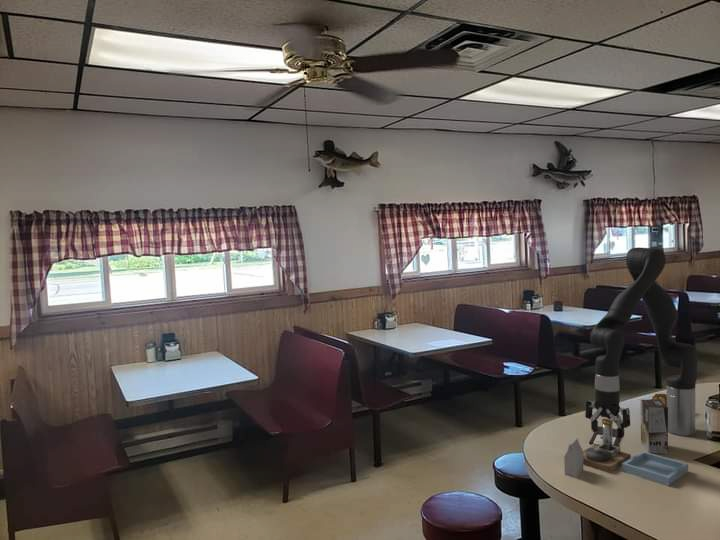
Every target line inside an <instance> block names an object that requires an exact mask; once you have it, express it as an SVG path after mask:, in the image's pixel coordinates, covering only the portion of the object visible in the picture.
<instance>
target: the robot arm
mask: <svg viewBox="0 0 720 540" xmlns="http://www.w3.org/2000/svg"><path fill="white" fill-rule="evenodd" d="M666 260H667V259H666V254H665V252H664V251H663V250H662V249H660V248H656V247H655V248H654V247H632V248H631V249H629V250H628V251H627V253H626V256H625V262H626V267H627V270H628V272H629V274H630V275H631V277H632V280H633V283H631V284H630V285H628V286H627V287H626V288H625V289H623V291H621V292H620V293H618V294H617V296H616V297H615V298H614V300H613V302H612V304H611V305H610V307H609V309H608V311H607V312H606V314H605V315H604V316H603V317H602V318H601V319H600V320H599V321H598V322H597V323H596V325H595V326H594V327H593V328H592V330H591V332H590V334H589V335H590V337H589V338H590V343H591V345H592V346H594V347H595V348H598V349H602V350H606V353H605V354H604V355H597V357H596V359H595V377H594V400H595V401H593V399H590V400H587V401H585V413H584V414H585V415H584V417H585V418H586V419H589V420H590V428H591V431H592V433H594V432H597V431H598V426H599V421H598V419H599V418H600V417H601V418H607V419H611V420H613V423H615V425H616V427H617V428H616V429H617V438H618V439H620V440H621V439H623V438H624V436H625V429H627V428H628V427H630V426H631V415H630V408H628V407H625V408H623V407H620V406H621V405H620V401H621V399H620V398H621V397H620V396H621V395H620V391H621V390H620V388H621V387H620V376H619V373H620V371H619V369H620V368H619V367H620V366H619V365H620V364H619V363H620V360H621V356H622V352H623V349H624V346H625V337H624V335H623V333H622V332H621V331H620V330H619V328H624V327H626V326H627V325H628V324H629V322H630V321H631V318H632V316H633V314H634V313H635V310H636V308H637V307H638V304H639V303H640V302H641V300H642V302H643V304H644V307H645V310H646V314H647V316H648V318H649V320H650V323H651V326H652V328H653V331H654V335H655V338H656V341H657V347H658V349H659V354H660V357H661V359H662V362H663V364H665V366H668V367H672V368H677V369H681V370H680V374H675V375H670V376H668V377H666V394H667V407H668V433H671V434H673V435H676V436H677V435H678V436H682V437H683V436H685V437H686V436H687V437H690V436H694V435H695V434H696V384H697V378H698V365H699V364H698V362H699V354H698V350H697V347H696V346H695V345H693V344H689V343H683V342H676V341H674V339H673V336H672V331H673V328H674V327H675V325H676V323H677V320H678V318H679V314H678V309H677V307H676V304H675V302H674V299H673V297H672V296H671V295H670V294H669V292H667V290H665V289H664V288H663V287H662V286H661V285H660V284H659V283H658V282H656V280H657V279H658V278H659V276H660V275H661V274H662V272H663V270H664V268H665V266H666V264H667V263H666ZM593 408H595V409H596V411H595V412H594V413H593V411H594V410H593Z"/></svg>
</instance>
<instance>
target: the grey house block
mask: <svg viewBox="0 0 720 540" xmlns="http://www.w3.org/2000/svg"><path fill="white" fill-rule="evenodd" d="M583 451H584V450H583V448H582V447H581V444H580V441H579V439H578V438H575V439H574V440H572V442H571V443H570V444H569V445H568V449H567V451H566V452H565V455H564V457H563V459H564V461H563V462H564V475H565V476H568V477H573V478H578V477H579V476H580V475H581V473H582V472H583V471H584V465H583Z"/></svg>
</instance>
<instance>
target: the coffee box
mask: <svg viewBox="0 0 720 540" xmlns="http://www.w3.org/2000/svg"><path fill="white" fill-rule="evenodd" d="M640 444H641V445H642V446H643V447H644V449H645V450H646V452H647V453H651V454H664V455H668V454H669V432H668V407H667V406H666V405H665V404H664V403H662V402H661V401H660V400H657V399H652V398H651V399H640Z"/></svg>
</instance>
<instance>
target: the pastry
mask: <svg viewBox="0 0 720 540" xmlns="http://www.w3.org/2000/svg"><path fill="white" fill-rule="evenodd" d="M651 399H657V400H660V401H661V402H662V403H664V404H665V405H666V406H667V393H655V394H654V395H653V396H652V397H651Z"/></svg>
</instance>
